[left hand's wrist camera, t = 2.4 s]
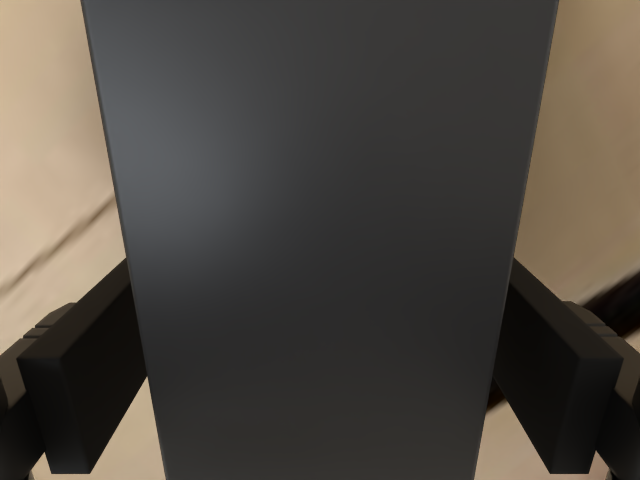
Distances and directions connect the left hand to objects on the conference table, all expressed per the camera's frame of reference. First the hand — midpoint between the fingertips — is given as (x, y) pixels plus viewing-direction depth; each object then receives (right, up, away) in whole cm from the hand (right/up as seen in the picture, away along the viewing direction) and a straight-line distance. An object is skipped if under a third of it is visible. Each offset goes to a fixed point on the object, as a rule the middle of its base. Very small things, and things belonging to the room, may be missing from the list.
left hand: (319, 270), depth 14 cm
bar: (0, +8, -2) cm, 8 cm away
